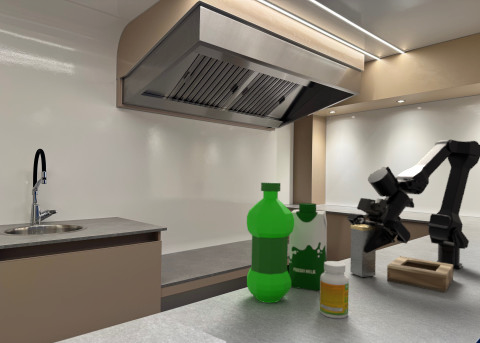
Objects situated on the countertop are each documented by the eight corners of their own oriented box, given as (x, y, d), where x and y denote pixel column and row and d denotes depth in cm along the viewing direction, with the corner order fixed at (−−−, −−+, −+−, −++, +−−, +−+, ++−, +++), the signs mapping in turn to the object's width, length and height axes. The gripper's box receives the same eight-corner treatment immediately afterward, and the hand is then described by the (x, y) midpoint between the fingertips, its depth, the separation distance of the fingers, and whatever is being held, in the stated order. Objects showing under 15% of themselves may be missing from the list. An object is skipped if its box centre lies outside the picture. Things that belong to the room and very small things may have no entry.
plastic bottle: (300, 296, 74) (302, 183, 74) (275, 311, 66) (278, 183, 66) (262, 286, 80) (264, 181, 80) (235, 299, 72) (237, 182, 72)
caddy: (400, 270, 97) (400, 256, 97) (452, 279, 89) (453, 264, 89) (387, 280, 87) (387, 265, 87) (445, 292, 79) (445, 275, 79)
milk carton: (285, 288, 80) (287, 203, 80) (292, 277, 88) (294, 200, 88) (323, 293, 77) (325, 205, 77) (327, 281, 85) (328, 202, 86)
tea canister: (363, 270, 95) (364, 224, 95) (375, 275, 90) (376, 227, 90) (349, 272, 93) (350, 225, 93) (361, 277, 88) (362, 227, 88)
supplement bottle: (349, 320, 62) (350, 268, 63) (319, 317, 64) (321, 266, 64) (346, 309, 68) (347, 261, 68) (319, 306, 69) (320, 259, 69)
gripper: (352, 186, 102) (321, 224, 98) (402, 189, 84) (367, 236, 80) (372, 211, 105) (343, 249, 100) (425, 220, 87) (391, 266, 83)
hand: (358, 249), depth 91 cm, fingers closed on tea canister, 4 cm apart
